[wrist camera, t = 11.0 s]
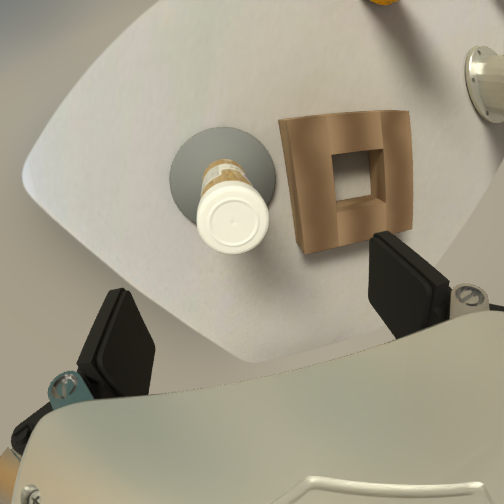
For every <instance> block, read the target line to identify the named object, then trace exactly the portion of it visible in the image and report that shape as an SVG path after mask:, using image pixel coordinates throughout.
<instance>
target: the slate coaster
mask: <svg viewBox="0 0 504 504" xmlns="http://www.w3.org/2000/svg"><path fill="white" fill-rule="evenodd" d="M221 159H230V160H233V161H235V162H237V163H238V164H239V165H241V166H242V168H243V170H244V171H245V174H246V176H247V177H248V179H249V181H250V183H251V184H252V186H253V188H254V189H255V190H257V191H258V193H259V194H260V195H261V197H262V198H263V200H264V202H265V204H266V206H267V204H268V203H269V201H270V199H271V197H272V194H273V191H274V186H275V169H274V165H273V161H272V159H271V156H270V155H269V153H268V151H267V150H266V148H265V147H264V145H263V144H262V143H261V142H260V141H259V140H257V139H256V138H255V137H253V136H252V135H250V134H248V133H247V132H244V131H242V130H239V129H235V128H229V127H217V128H211V129H208V130H204V131H202V132H200V133H198V134H196V135H194V136H193V137H191V138H190V139H189V140H188V141H187V142H186V143H185V144H184V145H183V146H182V147H181V148H180V150H179V151H178V152H177V154H176V156H175V158H174V160H173V163H172V165H171V170H170V178H169V180H170V189H171V194H172V197H173V199H174V201H175V203H176V205H177V207H178V208H179V209H180V211H181V212H182V213H183V214H184V215H185V216H186V217H187V218H188V219H190V220H191V221H193V222H194V223H196V224H197V209H198V205H199V202H200V198H201V190H202V183H203V180H202V178H203V174H204V171H205V170H206V168H207V167H208V166H209V165H210V164H211V163H213V162H214V161H217V160H221Z"/></svg>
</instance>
